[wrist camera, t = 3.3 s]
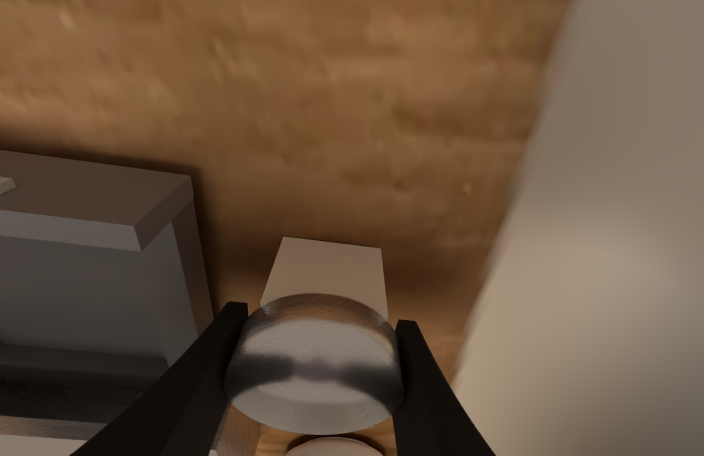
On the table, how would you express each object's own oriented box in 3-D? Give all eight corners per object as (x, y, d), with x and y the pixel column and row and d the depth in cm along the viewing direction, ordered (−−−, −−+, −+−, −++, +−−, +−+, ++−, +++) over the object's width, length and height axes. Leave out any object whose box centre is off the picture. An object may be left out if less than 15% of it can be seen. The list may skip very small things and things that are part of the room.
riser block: (282, 303, 14) (262, 374, 11) (283, 236, 12) (259, 302, 9) (364, 312, 15) (366, 383, 12) (380, 248, 12) (388, 316, 9)
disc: (245, 382, 12) (230, 428, 10) (235, 283, 9) (213, 329, 7) (380, 394, 12) (383, 440, 11) (415, 303, 9) (425, 351, 8)
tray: (-2, 347, 15) (-72, 410, 13) (-199, 115, 9) (-418, 149, 6) (223, 368, 16) (198, 431, 13) (189, 168, 10) (130, 217, 7)
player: (62, 422, 21) (-8, 516, 17) (-32, 310, 15) (-183, 420, 11) (259, 437, 22) (237, 530, 18) (252, 339, 16) (215, 450, 12)
